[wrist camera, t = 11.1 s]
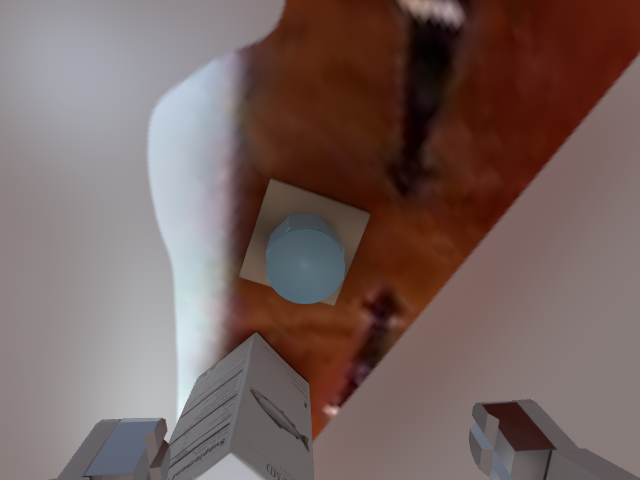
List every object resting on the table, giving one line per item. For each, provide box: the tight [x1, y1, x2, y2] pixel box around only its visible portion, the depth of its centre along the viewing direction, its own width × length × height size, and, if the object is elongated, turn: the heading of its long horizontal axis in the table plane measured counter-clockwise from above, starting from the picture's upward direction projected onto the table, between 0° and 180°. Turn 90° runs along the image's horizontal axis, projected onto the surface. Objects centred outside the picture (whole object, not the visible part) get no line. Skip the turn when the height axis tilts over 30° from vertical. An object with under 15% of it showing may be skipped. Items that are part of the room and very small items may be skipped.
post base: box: [239, 178, 370, 306], centre depth 26 cm, size 8×8×4 cm
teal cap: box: [266, 214, 345, 304], centre depth 24 cm, size 5×5×5 cm
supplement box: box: [166, 332, 314, 480], centre depth 25 cm, size 7×7×13 cm
